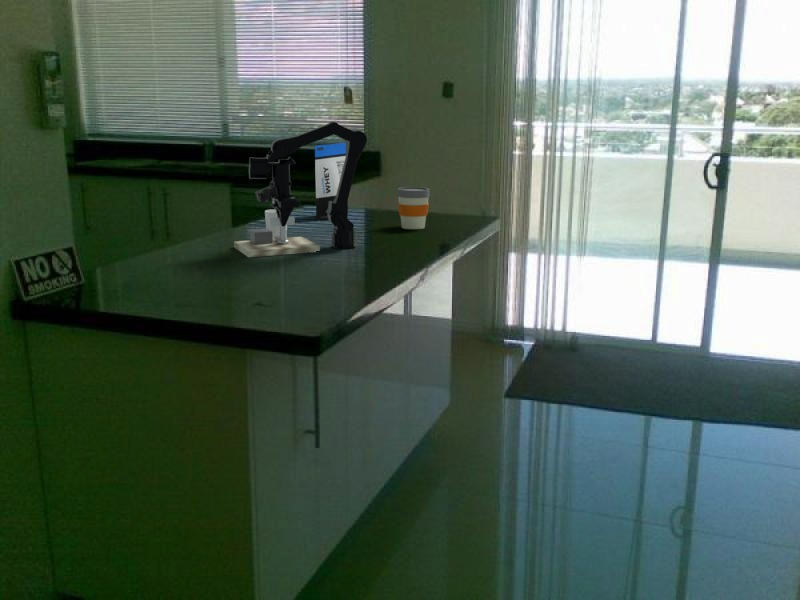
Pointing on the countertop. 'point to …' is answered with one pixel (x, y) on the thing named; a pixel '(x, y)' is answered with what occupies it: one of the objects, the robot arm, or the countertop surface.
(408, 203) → the reusable coffee cup
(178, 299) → the countertop surface
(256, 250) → the panel
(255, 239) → the cover
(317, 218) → the protein powder
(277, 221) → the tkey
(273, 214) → the white cup
